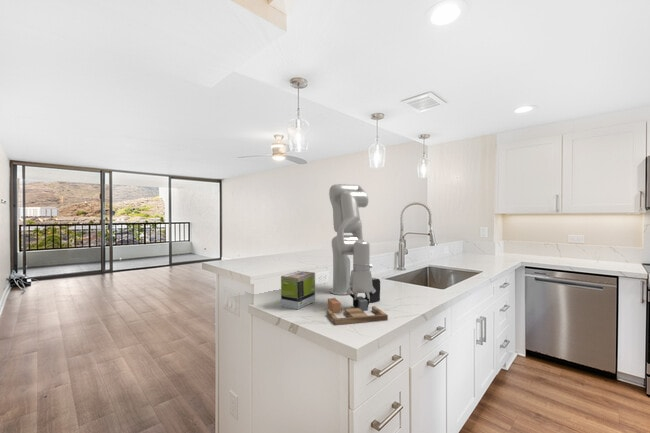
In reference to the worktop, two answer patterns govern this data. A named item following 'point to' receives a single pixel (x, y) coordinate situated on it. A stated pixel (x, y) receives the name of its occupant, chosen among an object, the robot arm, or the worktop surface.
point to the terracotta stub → (334, 305)
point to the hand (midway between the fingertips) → (360, 306)
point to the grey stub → (362, 303)
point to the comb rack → (357, 316)
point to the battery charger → (376, 285)
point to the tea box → (297, 289)
